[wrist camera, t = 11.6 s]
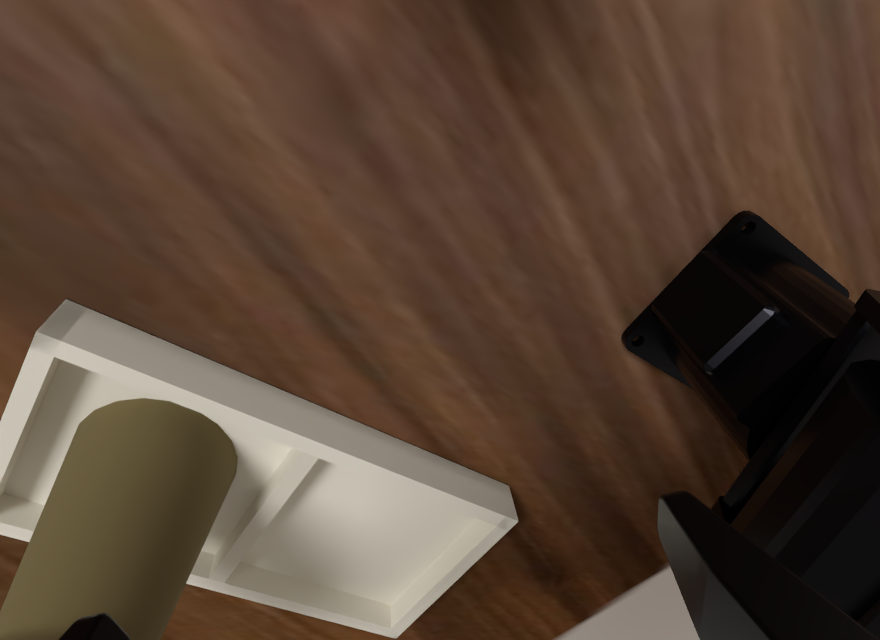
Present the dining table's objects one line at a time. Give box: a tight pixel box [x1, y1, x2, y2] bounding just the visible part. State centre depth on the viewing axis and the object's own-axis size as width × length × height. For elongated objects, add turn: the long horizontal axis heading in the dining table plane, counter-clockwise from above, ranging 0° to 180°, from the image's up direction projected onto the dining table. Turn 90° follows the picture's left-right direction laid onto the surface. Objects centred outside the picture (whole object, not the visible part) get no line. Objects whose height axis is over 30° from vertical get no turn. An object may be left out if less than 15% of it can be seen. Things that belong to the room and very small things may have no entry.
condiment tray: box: [0, 299, 519, 639], centre depth 23 cm, size 19×10×2 cm, turn 55°
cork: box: [0, 398, 238, 640], centre depth 17 cm, size 6×6×11 cm
